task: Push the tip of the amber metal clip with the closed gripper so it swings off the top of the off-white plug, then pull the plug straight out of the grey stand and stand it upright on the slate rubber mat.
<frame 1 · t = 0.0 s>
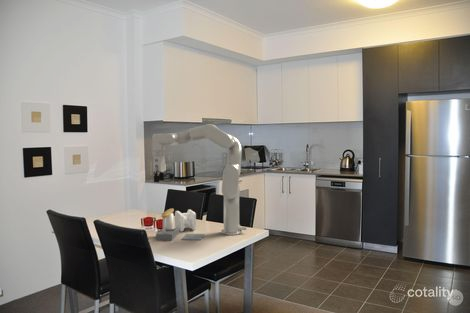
hand: (159, 181, 235), 31 cm above the table, tool pointing down, fingers open, 9 cm apart
grey stand: (168, 236, 222), on the table
clip: (167, 212, 222), point 14 cm above the table, hinge at 0.0°
plug: (169, 235, 225), resting in grey stand
cable organizer: (185, 230, 240), on the table
mat: (193, 237, 221), on the table
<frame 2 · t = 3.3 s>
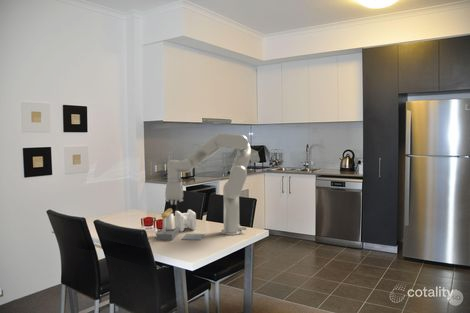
hand: (174, 210, 228), 14 cm above the table, tool pointing down, fingers closed
clip: (167, 212, 222), point 14 cm above the table, hinge at 2.3°, touching gripper
everything else where it was.
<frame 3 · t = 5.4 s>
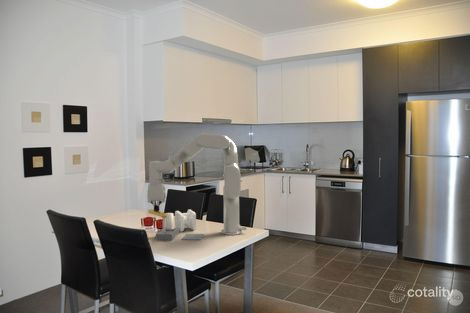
hand: (156, 212, 227), 14 cm above the table, tool pointing down, fingers closed
clip: (157, 213, 220), point 14 cm above the table, hinge at 46.1°, touching gripper
everything else where it was.
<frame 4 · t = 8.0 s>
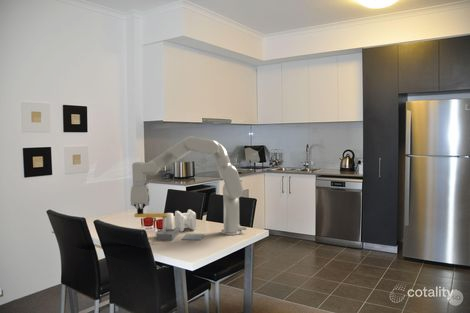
hand: (140, 215, 217), 13 cm above the table, tool pointing down, fingers closed
clip: (150, 215, 214), point 14 cm above the table, hinge at 94.6°, touching gripper
everything else where it was.
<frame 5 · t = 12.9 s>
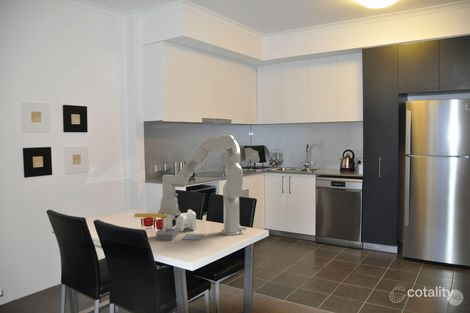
hand: (169, 225, 225), 6 cm above the table, tool pointing down, fingers closed on plug, 5 cm apart
clip: (150, 215, 214), point 14 cm above the table, hinge at 95.2°
plug: (169, 235, 225), resting in grey stand, touching gripper
everything else where it was.
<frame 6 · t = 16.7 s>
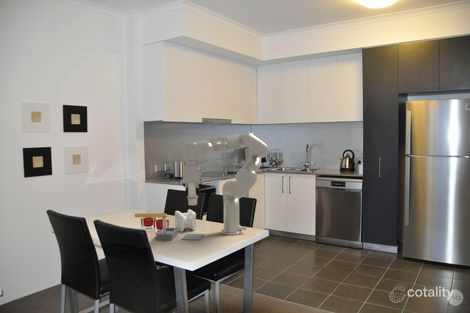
hand: (192, 194, 220), 25 cm above the table, tool pointing down, fingers closed on plug, 5 cm apart
plug: (192, 204, 220), point 19 cm above the table, touching gripper
everything else where it was.
when the fingers open (7 cm above the table, at t = 20.6 s): plug stays where it is, resting on mat.
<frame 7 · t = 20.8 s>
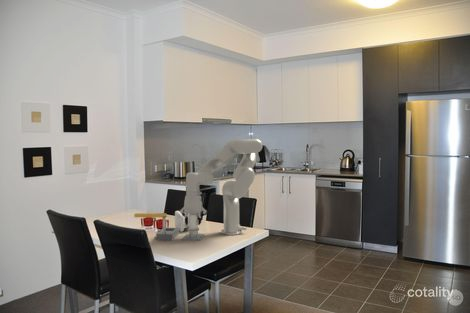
hand: (193, 224, 221), 8 cm above the table, tool pointing down, fingers open, 6 cm apart
plug: (193, 236, 221), point 1 cm above the table, touching mat
everything else where it was.
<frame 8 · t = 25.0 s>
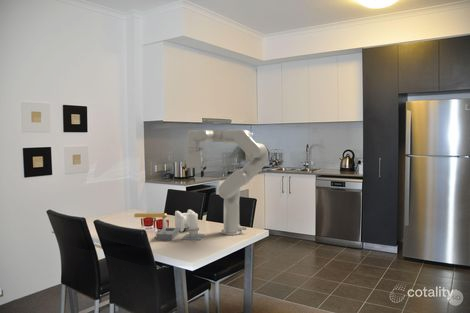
hand: (194, 177, 239), 33 cm above the table, tool pointing down, fingers open, 9 cm apart
nothing on the table moved.
at the end: clip at +95° (first picture: +0°); plug inside the target area on the mat (0.2 cm from its centre), point 0.6 cm above the mat's base; plug tilted 1° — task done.
